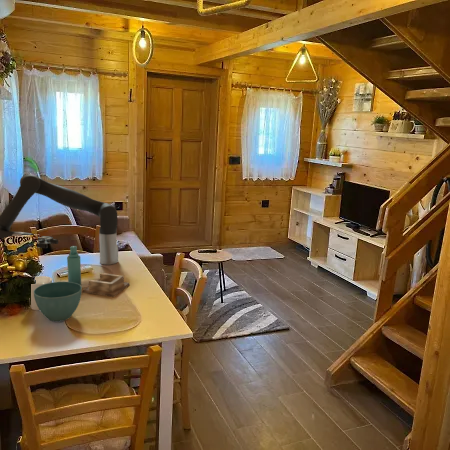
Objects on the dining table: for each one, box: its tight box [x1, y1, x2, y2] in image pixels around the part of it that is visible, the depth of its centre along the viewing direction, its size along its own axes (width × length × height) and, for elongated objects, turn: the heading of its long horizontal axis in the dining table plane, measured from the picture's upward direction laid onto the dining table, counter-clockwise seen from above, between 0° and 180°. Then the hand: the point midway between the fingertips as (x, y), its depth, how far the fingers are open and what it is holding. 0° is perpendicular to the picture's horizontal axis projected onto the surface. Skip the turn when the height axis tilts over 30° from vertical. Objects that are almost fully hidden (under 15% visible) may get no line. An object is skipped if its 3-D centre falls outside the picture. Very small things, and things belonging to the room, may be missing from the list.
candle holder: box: [29, 275, 53, 311], centre depth 195 cm, size 10×10×12 cm
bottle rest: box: [82, 272, 130, 298], centre depth 219 cm, size 16×16×5 cm
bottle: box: [66, 245, 82, 286], centre depth 221 cm, size 6×6×19 cm
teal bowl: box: [34, 281, 83, 323], centre depth 185 cm, size 18×18×12 cm
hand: (52, 243), depth 221 cm, fingers open, 8 cm apart
